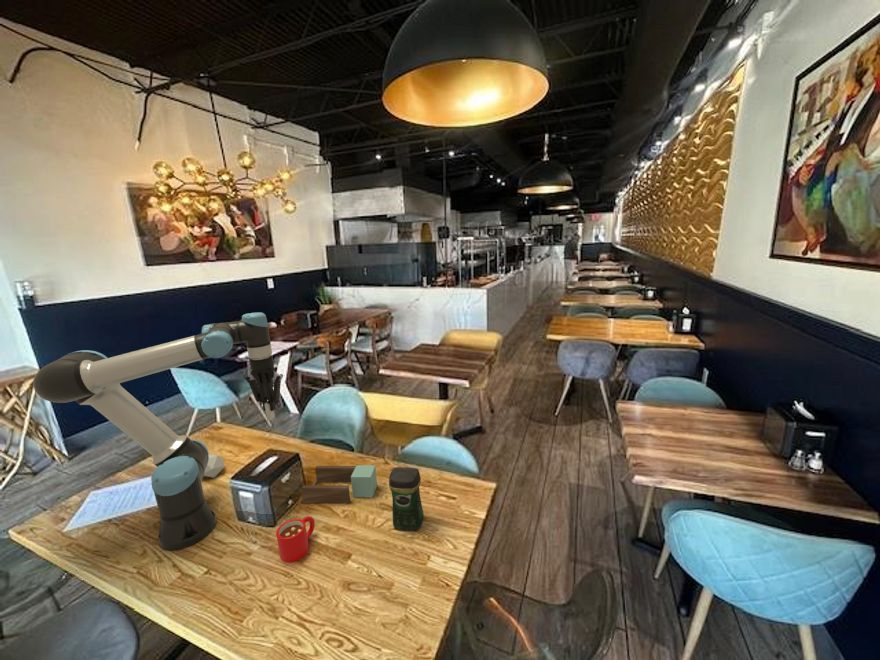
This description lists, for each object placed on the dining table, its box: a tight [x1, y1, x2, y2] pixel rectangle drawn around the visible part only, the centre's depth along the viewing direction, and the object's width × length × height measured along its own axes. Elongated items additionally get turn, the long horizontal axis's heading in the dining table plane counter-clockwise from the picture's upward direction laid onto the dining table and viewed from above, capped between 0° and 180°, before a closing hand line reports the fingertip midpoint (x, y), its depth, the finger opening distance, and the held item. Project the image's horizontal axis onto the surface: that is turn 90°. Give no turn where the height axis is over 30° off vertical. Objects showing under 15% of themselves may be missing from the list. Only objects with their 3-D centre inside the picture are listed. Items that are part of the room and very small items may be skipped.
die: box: [203, 453, 226, 479], centre depth 147 cm, size 8×9×10 cm
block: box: [350, 464, 378, 498], centre depth 132 cm, size 7×7×8 cm
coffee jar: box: [388, 466, 425, 531], centre depth 115 cm, size 10×8×19 cm
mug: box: [275, 515, 315, 564], centre depth 109 cm, size 8×12×8 cm, turn 154°
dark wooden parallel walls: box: [300, 465, 356, 505], centre depth 133 cm, size 13×17×6 cm
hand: (271, 418), depth 134 cm, fingers closed
